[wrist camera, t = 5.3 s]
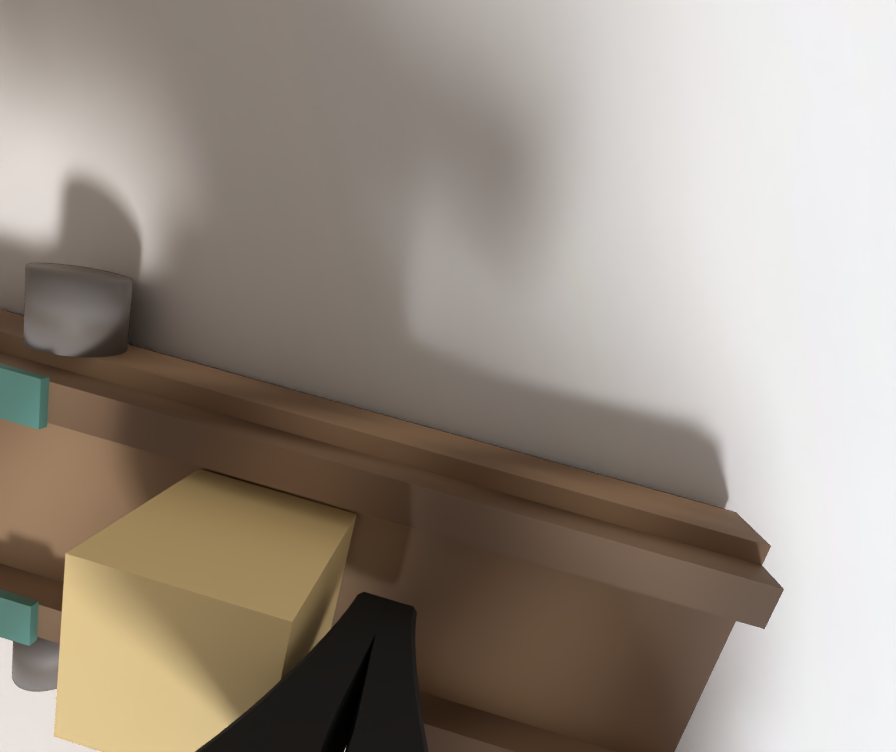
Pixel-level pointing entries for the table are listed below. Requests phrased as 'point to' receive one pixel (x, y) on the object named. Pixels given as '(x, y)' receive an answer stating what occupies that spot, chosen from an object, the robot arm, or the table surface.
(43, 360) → the balance beam
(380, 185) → the table surface
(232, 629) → the block
